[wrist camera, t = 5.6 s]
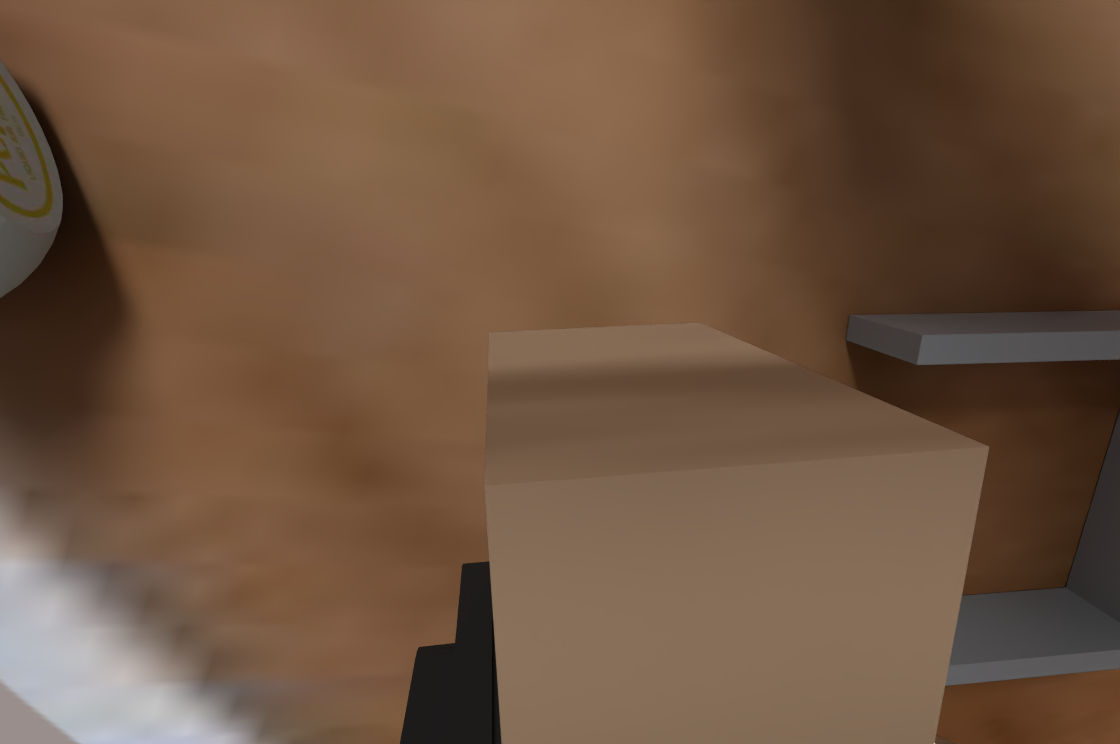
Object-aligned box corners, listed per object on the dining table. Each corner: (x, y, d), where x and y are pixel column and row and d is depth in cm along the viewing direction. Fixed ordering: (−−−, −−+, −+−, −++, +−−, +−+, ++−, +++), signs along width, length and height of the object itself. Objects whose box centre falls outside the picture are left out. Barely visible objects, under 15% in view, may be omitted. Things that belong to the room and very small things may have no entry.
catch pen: (849, 315, 25) (922, 335, 21) (1171, 309, 27) (1299, 326, 23) (802, 626, 30) (853, 695, 26) (1078, 603, 32) (1169, 663, 28)
